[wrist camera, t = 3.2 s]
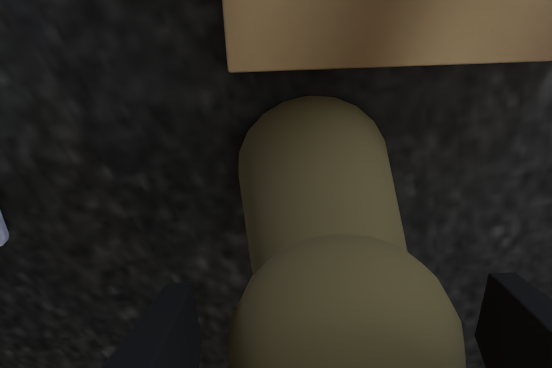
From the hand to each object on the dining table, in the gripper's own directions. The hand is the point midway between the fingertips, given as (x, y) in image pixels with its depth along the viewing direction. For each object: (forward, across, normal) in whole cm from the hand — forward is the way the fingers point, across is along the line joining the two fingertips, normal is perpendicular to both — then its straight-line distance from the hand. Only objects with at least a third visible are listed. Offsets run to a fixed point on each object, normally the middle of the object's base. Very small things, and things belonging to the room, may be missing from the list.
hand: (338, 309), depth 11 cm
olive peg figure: (+8, 0, 0) cm, 8 cm away
